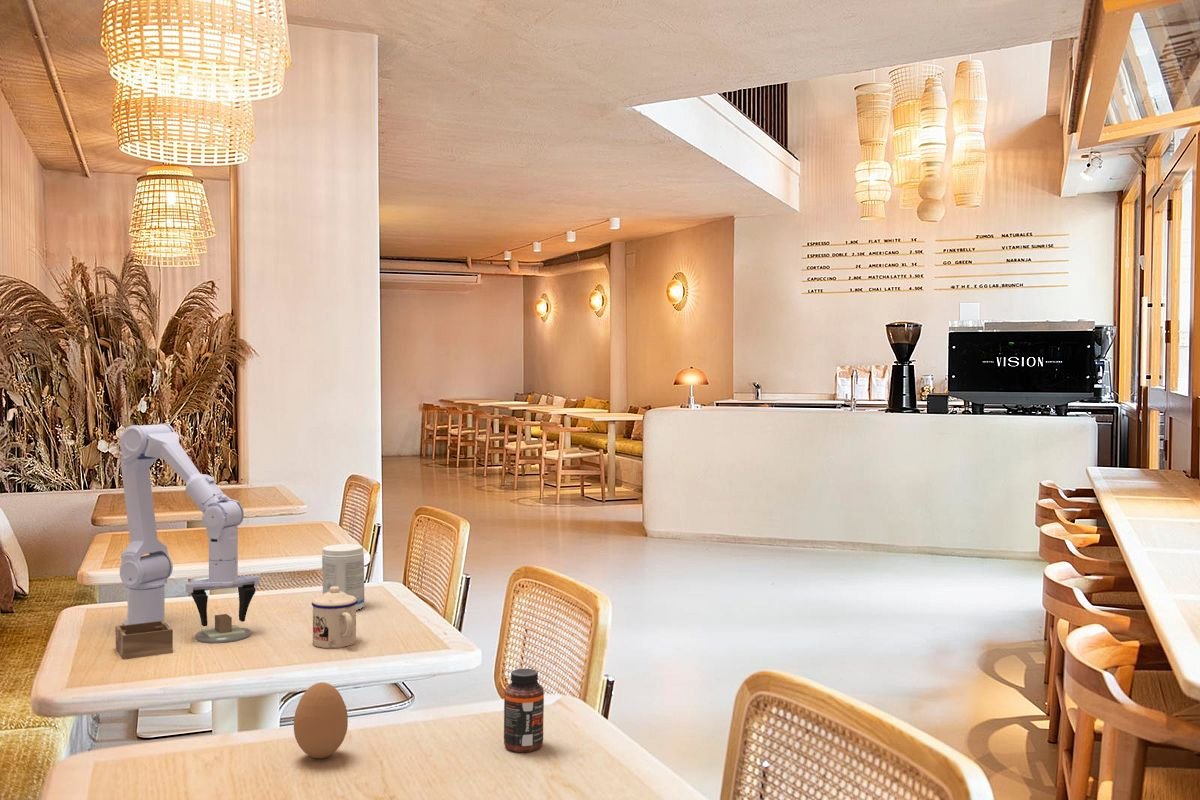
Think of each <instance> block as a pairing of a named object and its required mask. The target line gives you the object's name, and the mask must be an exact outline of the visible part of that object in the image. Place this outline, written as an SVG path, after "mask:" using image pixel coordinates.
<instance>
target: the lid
mask: <svg viewBox="0 0 1200 800" xmlns="http://www.w3.org/2000/svg"><path fill="white" fill-rule="evenodd" d="M239 627H240V626H238V625H236V624H233V618H232V617H231V616H230V615H229V614H228V613H223V614H222V613H221V614H215V615H214V627H209V628H202V629H200V632H202V633H203V634H204V635H205V636H206V637H208V638H209V639H217V638H224V637H232V636H239V635H246V632H245V631H244V630H242V629H241V628H242V627H241V628H239Z"/></svg>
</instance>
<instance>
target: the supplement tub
mask: <svg viewBox="0 0 1200 800" xmlns="http://www.w3.org/2000/svg"><path fill="white" fill-rule="evenodd" d="M321 556H322V557H321V570H322V572H321V573H322V574H321V575H322V584H321V585H322V595H323V594H325V593H326V592H330V587H334V586H337V587H339V588H340V591H342V592H344V593H346V594H347V595H351V596H354V597H355V598H356V599H357V604H356V610H357V611H359V610H358V609H360V610H362V609H363V608H364V607H365V554H364V547H363V545H361V544H356V543H339V544H330V545H326V546H324V547H322V554H321ZM363 606H364V607H363ZM362 607H363V608H362ZM361 608H362V609H361Z"/></svg>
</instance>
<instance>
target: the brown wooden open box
mask: <svg viewBox="0 0 1200 800" xmlns="http://www.w3.org/2000/svg"><path fill="white" fill-rule="evenodd" d="M165 621H166V620H165ZM165 621H164V620H163V621H155V622H146V623H138V624H129V625H124V624H123V625H115V649H116V652H118V654H119V655H120V657H121V658H122V660H125V659H133V658H142V657H147V656H149V657H150V656H157V655H165V654H171V653H174V648H173V647H174V643H173V642H174V641H173V640H174V639H173V638H174V637H173V636H174V634H173V633H174V631H173V628H172V627H171V626H170V625H169V626H168V625H167V624H166V623H165Z"/></svg>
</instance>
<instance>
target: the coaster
mask: <svg viewBox="0 0 1200 800" xmlns="http://www.w3.org/2000/svg"><path fill="white" fill-rule="evenodd" d="M238 627H239V628H241V629H242V630H244V631H245V632H246V635H239V636H232V637H224V638H217V639H209V638H208V637H206V636H205V635H204V634H203V633H202V632H201V631H199V632H197V633H196V634H195V635H194V639H195V640H196V641H197V642H200V643H206V644H226V643H233V642H238V641H239V642H240V641H243V640H246V639H248V638H250V637H251V635H252V631H251V629H249V628H246V627H241V626H238Z"/></svg>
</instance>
